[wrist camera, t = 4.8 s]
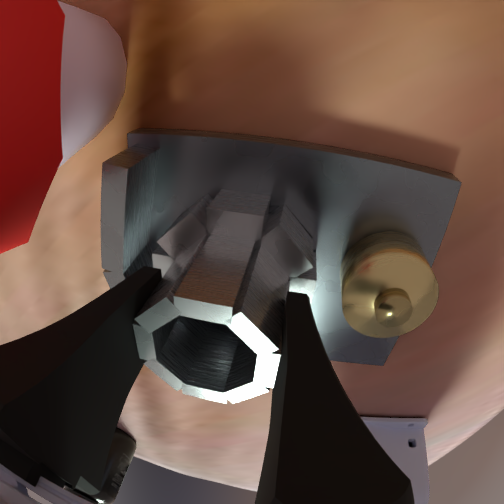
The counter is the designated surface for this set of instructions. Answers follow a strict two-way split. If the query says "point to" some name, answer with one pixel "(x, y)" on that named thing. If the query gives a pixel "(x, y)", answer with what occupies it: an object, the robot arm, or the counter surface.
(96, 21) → the mushroom
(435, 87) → the counter surface
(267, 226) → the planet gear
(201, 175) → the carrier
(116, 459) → the supplement bottle
